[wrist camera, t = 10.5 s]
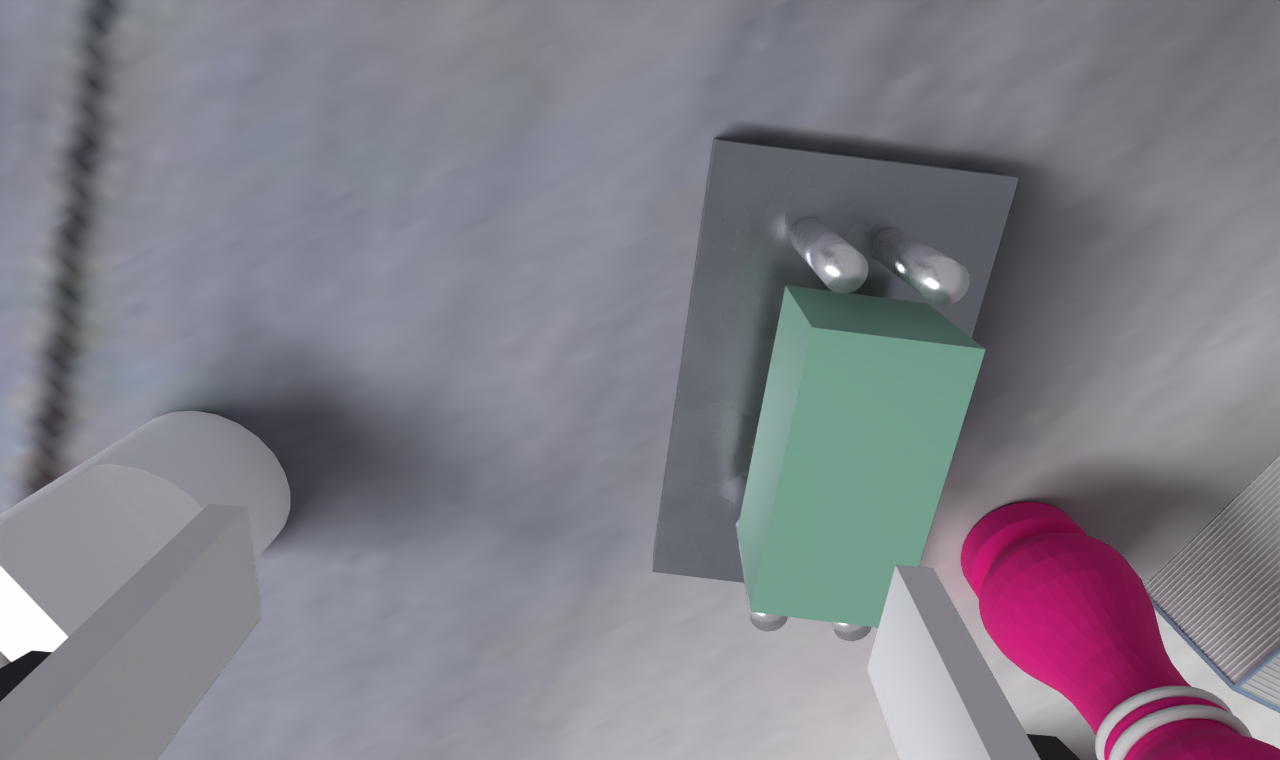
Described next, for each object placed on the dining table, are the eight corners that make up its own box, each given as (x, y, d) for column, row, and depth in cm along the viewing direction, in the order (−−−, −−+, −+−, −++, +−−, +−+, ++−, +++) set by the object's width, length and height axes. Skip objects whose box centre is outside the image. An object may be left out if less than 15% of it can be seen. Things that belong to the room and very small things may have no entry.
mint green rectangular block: (785, 285, 31) (812, 327, 25) (927, 303, 31) (985, 349, 25) (737, 529, 35) (751, 612, 29) (861, 544, 35) (898, 629, 29)
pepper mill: (1118, 531, 39) (1536, 933, 20) (1026, 625, 41) (1325, 1064, 22) (1009, 469, 38) (1346, 833, 19) (922, 570, 40) (1145, 981, 21)
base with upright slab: (90, 452, 39) (-141, 593, 28) (220, 383, 37) (30, 504, 26) (197, 578, 42) (27, 753, 31) (323, 519, 40) (191, 681, 29)
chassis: (713, 138, 32) (728, 151, 24) (1003, 174, 32) (1112, 199, 24) (653, 555, 40) (649, 667, 32) (886, 582, 40) (939, 701, 32)
